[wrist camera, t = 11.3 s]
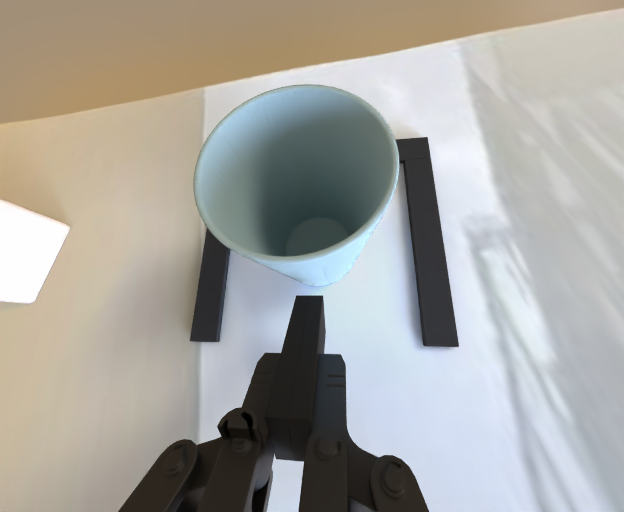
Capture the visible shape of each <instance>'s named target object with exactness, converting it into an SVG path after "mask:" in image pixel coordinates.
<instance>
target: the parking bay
mask: <svg viewBox="0 0 624 512" xmlns="http://www.w3.org/2000/svg"><path fill="white" fill-rule="evenodd" d="M396 144H397V148H398V153H399V163H403V165H404V174H405V183H406V192H407V201H408V210H409V219H410V228H411V237H412V246H413V255H414V264H415V273H416V282H417V291H418V300H419V309H420V318H421V327H422V336H423V345H424V346H443V347H459V343H458V337H457V330H456V323H455V317H454V310H453V304H452V297H451V290H450V284H449V277H448V270H447V264H446V257H445V250H444V244H443V237H442V230H441V224H440V217H439V210H438V204H437V197H436V191H435V184H434V177H433V171H432V164H431V158H430V151H429V144H428V138H427V137H423V138H411V139H398V140H396ZM229 253H230V249H229V248H228V247H226V246H225V245H224V244H222V243H221V242H220V241H219V240H218V239H217V238H216V237H215V236H214V235H213V234H212V233H211V232H210V230H209V229H208V228H207V231H206V238H205V244H204V251H203V258H202V264H201V271H200V278H199V284H198V291H197V298H196V304H195V311H194V318H193V324H192V331H191V338H190V341H197V342H219V339H220V330H221V321H222V313H223V304H224V296H225V287H226V279H227V270H228V262H229Z"/></svg>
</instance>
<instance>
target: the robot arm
mask: <svg viewBox="0 0 624 512" xmlns="http://www.w3.org/2000/svg"><path fill="white" fill-rule="evenodd" d="M325 333H326V332H325V317H324V303H323V296H296V299H295V302H294V306H293V310H292V314H291V318H290V322H289V325H288V329H287V333H286V337H285V341H284V344H283V348H282V352H281V353H265V354H264V355H263V356H262V357H261V359H260V360H259V361H258V362H257V365H256V368H255V371H254V375H253V377H252V380H251V384H250V385H249V388H248V391H247V394H246V397H245V399H244V402H243V405H242V407H241V408H236V409H234V410H232V411H230V412H228V413H227V414H226V415H225V416H224V417H223V418H222V419H221V421H220V422H219V424H218V426H217V427H218V429H219V432H220V434H221V436H222V437H220V438H217V439H215V440H212V441H208V442H205V443H202V444H198V445H196V444H195V443H194V442H192V441H191V440H186V439H183V440H180V441H177V442H175V443H173V444H172V445H170V446H169V447H168V448H167V449H166V450H165V451H164V452H163V453H162V454H161V455H160V456H159V458H158V459H157V460H156V462H155V463H154V464H153V466H152V467H151V468H150V470H149V471H148V472H147V474H146V475H145V476H144V478H143V479H142V480H141V482H140V483H139V485H138V486H137V487H136V489H135V490H134V491H133V493H132V494H131V495H130V497H129V498H128V499H127V501H126V502H125V503H124V505H123V506H122V507H121V509H120V510H119V511H118V512H266V511H267V506H268V501H269V495H270V490H271V485H272V479H273V471H272V468H271V467H272V462H273V458H274V453H275V456H276V459H282V460H293V461H304V468H303V477H302V486H301V495H300V504H299V512H429V510H428V508H427V505H426V503H425V500H424V498H423V495H422V493H421V490H420V488H419V485H418V483H417V481H416V478H415V476H414V474H413V473H412V471H411V469H410V467H409V466H408V465H407V464H406V463H405V462H404V461H403V460H401V459H399V458H397V457H395V456H393V455H384V456H382V457H379V458H378V457H376V456H374V455H372V454H370V453H368V452H366V451H364V450H362V449H361V448H359V447H358V446H357V445H356V444H355V443H354V442H353V441H352V439H351V438H350V436H349V433H348V431H347V420H346V366H345V362H344V360H343V358H342V356H341V355H339V354H324V346H325Z"/></svg>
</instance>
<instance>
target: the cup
mask: <svg viewBox="0 0 624 512" xmlns="http://www.w3.org/2000/svg"><path fill="white" fill-rule="evenodd" d="M398 175H399V153H398V148H397V144H396V140H395V138H394V135H393V133H392V131H391V129H390V127H389V125H388V124H387V122H386V121H385V119H384V118H383V117H382V115H381V114H380V113H379V112H378V111H377V110H376V109H375V108H373V107H372V106H371V105H370V104H368V103H367V102H366V101H364V100H363V99H361V98H359V97H358V96H356V95H354V94H352V93H349V92H347V91H344V90H342V89H338V88H334V87H329V86H324V85H312V84H304V85H293V86H286V87H281V88H277V89H273V90H270V91H267V92H265V93H262V94H260V95H257V96H255V97H253V98H251V99H250V100H248V101H246V102H244V103H243V104H241V105H240V106H238V107H237V108H235V109H234V110H233V111H231V112H230V113H229V114H228V115H227V116H226V117H224V118H223V119H222V120H221V121H220V122H219V124H218V125H217V126H216V127H215V128H214V130H213V131H212V132H211V134H210V135H209V137H208V138H207V140H206V141H205V143H204V145H203V147H202V149H201V151H200V154H199V157H198V160H197V163H196V167H195V172H194V196H195V201H196V205H197V208H198V211H199V213H200V216H201V218H202V220H203V221H204V223H205V225H206V226H207V228H208V229H209V230H210V232H211V233H212V234H213V235H214V236H215V237H216V238H217V239H218V240H219V241H220V242H221V243H222V244H224V245H225V246H226V247H228V248H229V249H231V250H232V251H234V252H236V253H238V254H240V255H242V256H244V257H246V258H249V259H251V260H253V261H255V262H257V263H260V264H262V265H264V266H267V267H269V268H271V269H273V270H275V271H277V272H280V273H282V274H284V275H286V276H288V277H291V278H293V279H295V280H297V281H299V282H302V283H304V284H308V285H314V286H325V285H328V284H332V283H335V282H337V281H339V280H340V279H341V278H342V277H343V276H344V275H346V274H347V273H348V272H349V270H350V269H351V267H352V266H353V264H354V262H355V261H356V259H357V257H358V256H359V254H360V252H361V251H362V249H363V247H364V245H365V244H366V242H367V240H368V239H369V237H370V235H371V234H372V232H373V231H374V229H375V227H376V226H377V224H378V222H379V221H380V219H381V217H382V216H383V214H384V212H385V211H386V209H387V207H388V205H389V203H390V201H391V199H392V197H393V194H394V191H395V188H396V185H397V180H398Z"/></svg>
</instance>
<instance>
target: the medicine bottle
mask: <svg viewBox="0 0 624 512" xmlns="http://www.w3.org/2000/svg"><path fill="white" fill-rule="evenodd" d="M69 231H70V227H69V226H68V225H66V224H64V223H61V222H59V221H56V220H54V219H51V218H49V217H46V216H43V215H41V214H38V213H36V212H33V211H31V210H28V209H25V208H23V207H20V206H18V205H15V204H13V203H10V202H8V201H5V200H2V199H0V301H6V302H16V303H32V302H34V301H35V300H36V298H37V296H38V294H39V292H40V290H41V288H42V286H43V284H44V282H45V280H46V278H47V276H48V273H49V271H50V269H51V267H52V265H53V263H54V261H55V259H56V257H57V255H58V253H59V251H60V249H61V247H62V245H63V243H64V241H65V239H66V237H67V235H68V233H69Z"/></svg>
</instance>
